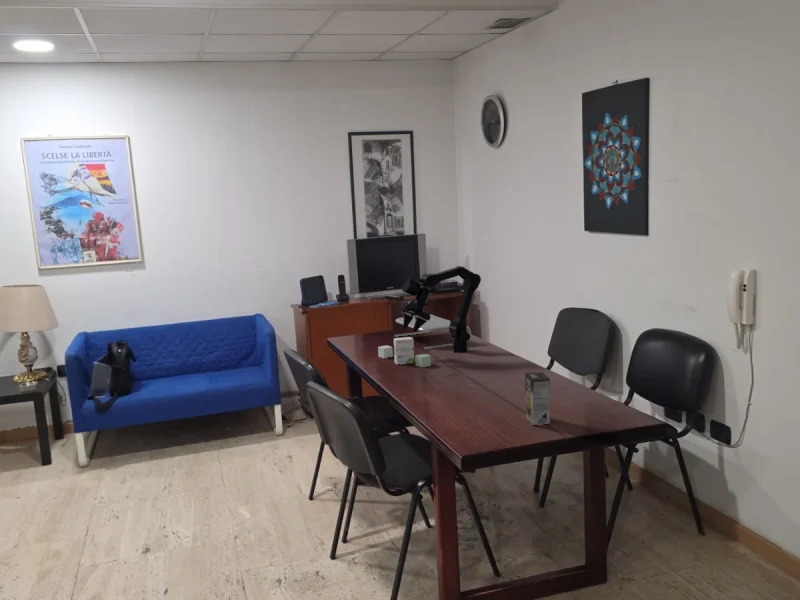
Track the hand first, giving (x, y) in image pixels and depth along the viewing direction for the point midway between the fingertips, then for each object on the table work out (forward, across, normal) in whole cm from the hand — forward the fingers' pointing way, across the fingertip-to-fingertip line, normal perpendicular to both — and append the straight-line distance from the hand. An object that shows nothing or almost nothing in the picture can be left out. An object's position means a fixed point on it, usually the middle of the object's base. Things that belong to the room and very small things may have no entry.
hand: (408, 330), depth 328 cm
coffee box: (+16, +102, 0) cm, 103 cm away
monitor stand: (-1, -31, +34) cm, 46 cm away
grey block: (+16, -13, +1) cm, 20 cm away
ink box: (+15, +3, +2) cm, 16 cm away
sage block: (+13, +13, +6) cm, 19 cm away
